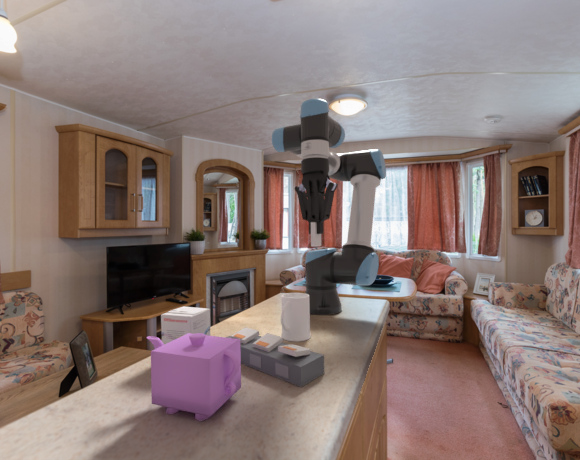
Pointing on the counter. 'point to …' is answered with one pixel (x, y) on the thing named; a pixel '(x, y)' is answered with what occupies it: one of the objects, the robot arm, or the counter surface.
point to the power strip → (283, 363)
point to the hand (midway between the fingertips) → (316, 246)
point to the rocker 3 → (294, 350)
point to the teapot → (195, 373)
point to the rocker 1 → (245, 335)
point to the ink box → (184, 322)
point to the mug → (295, 317)
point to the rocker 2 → (268, 342)
